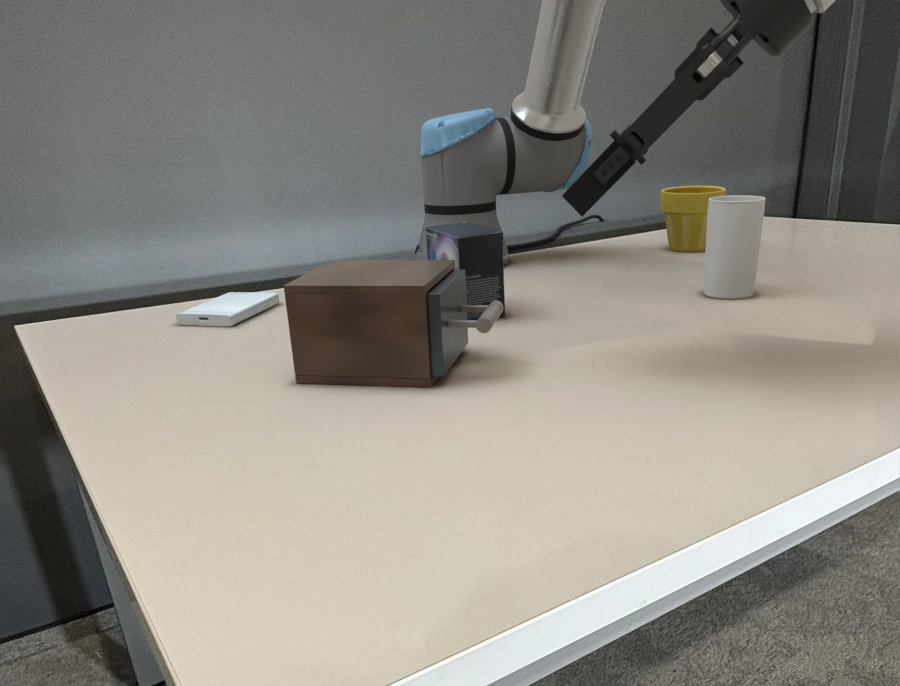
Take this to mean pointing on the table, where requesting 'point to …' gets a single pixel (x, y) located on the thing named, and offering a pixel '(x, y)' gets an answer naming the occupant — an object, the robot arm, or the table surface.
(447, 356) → the drawer
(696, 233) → the flower pot
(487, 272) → the small box
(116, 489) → the table surface
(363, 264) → the cabinet
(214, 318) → the hard drive
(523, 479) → the table surface
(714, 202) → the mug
